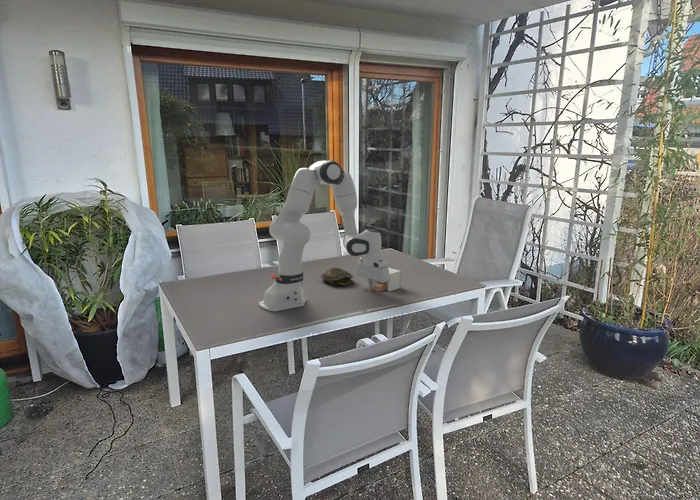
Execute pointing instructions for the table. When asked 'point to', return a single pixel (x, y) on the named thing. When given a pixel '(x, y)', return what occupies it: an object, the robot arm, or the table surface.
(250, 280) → the table surface
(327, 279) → the turtle shell
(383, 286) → the tan rectangular block
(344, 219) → the robot arm
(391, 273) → the white storage bin
